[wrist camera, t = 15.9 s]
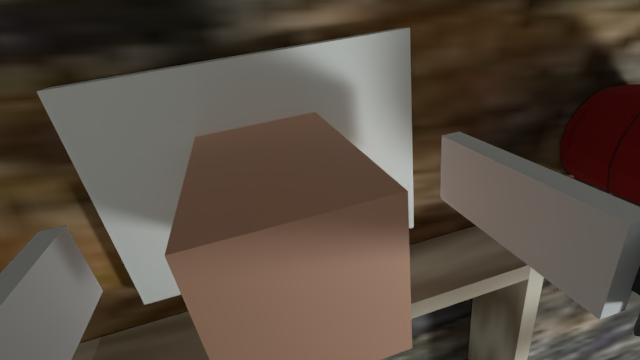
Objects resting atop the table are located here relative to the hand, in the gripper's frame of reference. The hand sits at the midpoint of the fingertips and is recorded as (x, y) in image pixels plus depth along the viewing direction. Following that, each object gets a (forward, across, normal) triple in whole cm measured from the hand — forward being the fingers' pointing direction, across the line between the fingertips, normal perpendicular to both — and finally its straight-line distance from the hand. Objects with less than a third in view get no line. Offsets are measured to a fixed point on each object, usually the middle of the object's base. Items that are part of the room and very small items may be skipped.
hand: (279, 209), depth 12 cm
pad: (+4, 0, 0) cm, 4 cm away
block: (+3, 0, 0) cm, 3 cm away
